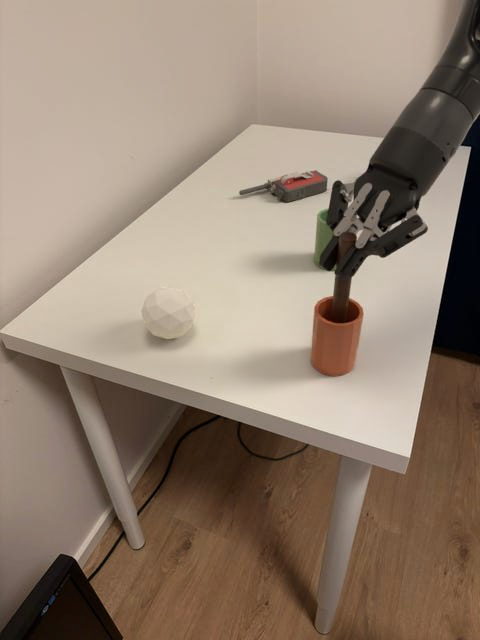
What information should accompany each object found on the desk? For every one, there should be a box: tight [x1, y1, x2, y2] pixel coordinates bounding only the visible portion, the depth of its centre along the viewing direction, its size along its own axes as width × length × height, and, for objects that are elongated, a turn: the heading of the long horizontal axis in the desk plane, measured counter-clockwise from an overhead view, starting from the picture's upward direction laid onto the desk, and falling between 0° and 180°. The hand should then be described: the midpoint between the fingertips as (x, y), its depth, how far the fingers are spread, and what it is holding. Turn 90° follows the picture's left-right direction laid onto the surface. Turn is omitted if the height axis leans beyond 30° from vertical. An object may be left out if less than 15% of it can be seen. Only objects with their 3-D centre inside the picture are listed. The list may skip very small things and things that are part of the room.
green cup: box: [313, 207, 336, 272], centre depth 85 cm, size 6×6×9 cm
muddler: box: [331, 232, 358, 323], centre depth 61 cm, size 4×4×16 cm
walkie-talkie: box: [238, 170, 329, 203], centre depth 108 cm, size 9×4×20 cm
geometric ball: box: [140, 286, 197, 340], centre depth 72 cm, size 8×8×8 cm
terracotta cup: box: [310, 295, 365, 377], centre depth 65 cm, size 6×6×9 cm
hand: (332, 272), depth 57 cm, fingers closed on muddler, 2 cm apart
